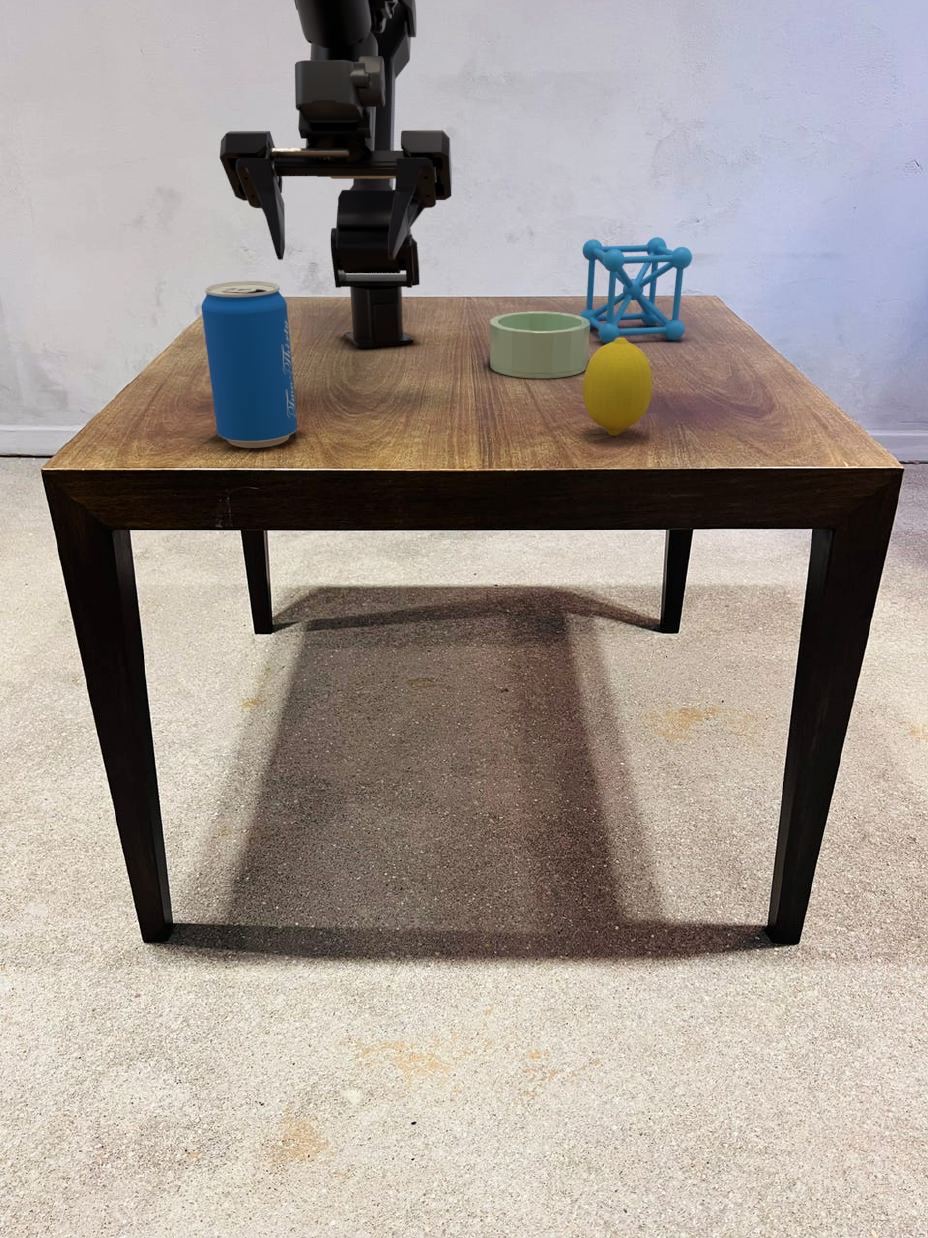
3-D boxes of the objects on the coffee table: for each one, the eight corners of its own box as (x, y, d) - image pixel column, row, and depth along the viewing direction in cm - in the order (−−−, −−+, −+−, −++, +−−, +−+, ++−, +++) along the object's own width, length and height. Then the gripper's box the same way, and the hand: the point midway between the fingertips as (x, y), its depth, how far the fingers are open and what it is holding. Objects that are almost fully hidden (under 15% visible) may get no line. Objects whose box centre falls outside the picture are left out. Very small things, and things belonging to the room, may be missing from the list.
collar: (475, 359, 104) (475, 315, 102) (560, 350, 107) (561, 308, 105) (514, 382, 96) (515, 335, 94) (604, 372, 99) (607, 327, 97)
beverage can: (281, 453, 78) (266, 296, 72) (205, 448, 79) (184, 293, 73) (309, 428, 83) (296, 281, 77) (237, 424, 84) (220, 278, 79)
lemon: (605, 450, 78) (612, 348, 74) (567, 431, 82) (572, 334, 78) (661, 439, 80) (671, 340, 76) (621, 421, 85) (628, 326, 81)
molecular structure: (686, 341, 110) (696, 247, 106) (601, 346, 109) (607, 250, 104) (655, 323, 119) (663, 235, 114) (576, 326, 117) (580, 237, 113)
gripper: (207, 15, 76) (193, 195, 73) (448, 14, 75) (444, 194, 72) (242, 117, 87) (231, 277, 84) (453, 116, 86) (450, 277, 83)
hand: (335, 256), depth 80 cm, fingers open, 9 cm apart
